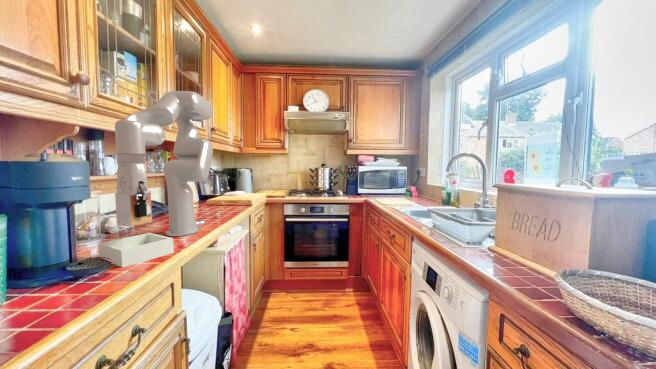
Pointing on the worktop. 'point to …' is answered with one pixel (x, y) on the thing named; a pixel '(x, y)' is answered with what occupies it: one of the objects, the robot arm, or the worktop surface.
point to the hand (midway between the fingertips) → (134, 215)
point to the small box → (130, 210)
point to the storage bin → (136, 249)
